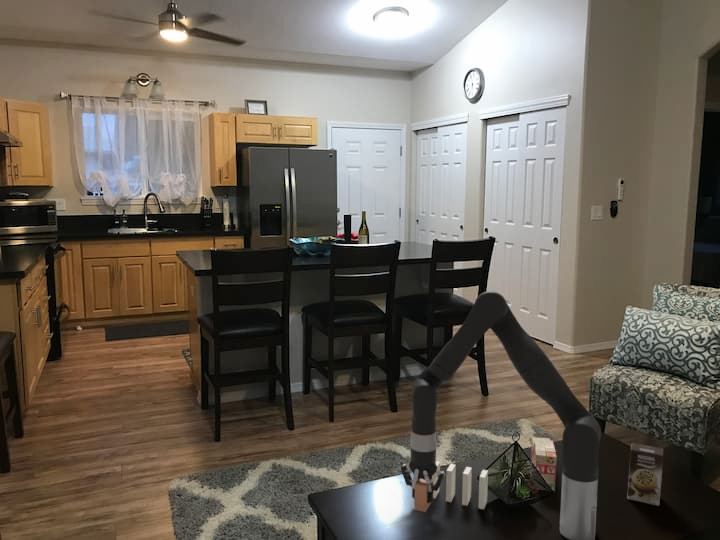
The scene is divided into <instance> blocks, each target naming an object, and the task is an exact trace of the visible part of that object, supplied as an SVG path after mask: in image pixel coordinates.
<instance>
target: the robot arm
mask: <svg viewBox="0 0 720 540" xmlns="http://www.w3.org/2000/svg"><path fill="white" fill-rule="evenodd" d="M489 330H491V331H492V332H493V333H494V335H495V336H496V337H497V339H498V340H499V341H500V343H501V345H502V346H503V348H504V350H505V353H506V354H507V356H508V358H509V360H510V362H511V363H512V365H513V367H514V368H515V369H516V372H518V374H519V376H520V377H521V379H522V380H523V381H524V382H525V384H526V386H527V387H528V388H529V389H530V390H531V391H532V392H533V393H534V394H536V395H537V396H538V397H539V398H540V399H542V401H544V402H546V403H547V404H548V405H549V406H550V407H551V408H552V409H553V410H554V412H555V413H556V415H557V417H558V418H559V420H560V421H561V423H562V425H563V427H564V429H563V432H562V442H561V465H562V470H561V471H562V472H561V473H562V474H561V494H560V513H559V532H560V534H561V535H562V536H563V537H564V538H565V539H568V540H596V538H595V537H596V523H597V506H598V503H597V502H598V486H599V485H598V483H599V472H600V471H599V452H600V451H599V450H600V441H601V438H602V428H601V425H600V424H599V422H598V420H596V418H595V417H594V416H593V414H591V413H590V412H589V410H588V409H587V408H586V407H585V406H584V404H582V402H580V400H579V399H578V398H577V396H576V395H575V394H574V393H573V391H572V390H571V388H570V387H569V385H568V384H567V382H566V381H565V379H564V378H563V376H562V375H561V374H560V372H559V371H558V370H557V368H556V366H555V365H554V364H553V362H552V361H551V360H550V358H549V357H548V356H547V355H546V353H545V352H544V351H543V349H542V348H541V347H540V345H539V344H538V343H537V342H536V341H535V340H534V339H533V338H532V337H531V335H530V334H528V333H527V332H526V330H525V329H524V328H523V327H522V325H521V324H520V322H518V320H517V318H516V316H515V315H514V313H513V311H512V310H511V308H510V307H509V305H508V302H507V299H506V298H505V297H504V295H502V294H501V293H499V292H497V291H494V290H491V291H490V290H489V291H488V290H487V291H483V292H482V293H480V294H478V296H477V297H476V299H475V300H474V304H473V306H472V308H471V309H470V311H469V313H468V315H467V316H466V319H465V320H464V322H463V323H462V324H461V326H460V327H459V328H458V330H457V331H456V333H455V334H454V335H453V336H452V337H451V339H449V341H448V342H447V343H446V344H444V346H443V348H441V349H440V351H439V353H438V354H437V355H436V356H435V357H434V358H433V360H432V362H431V363H430V364H429V366H428V367H426V368H425V369H424V370H423V371H421V373H420V374H419V375H418V376H417V377H416V379H415V380H414V382H412V386H411V393H412V410H413V411H412V415H411V416H412V417H411V433H410V441H409V442H410V460H409V463H406V462H405V463H403V464H402V465H401V467H400V471H401V473H402V476H403V478H404V482H405V485H406V486H409V487H411V491H412V492H411V494H412V495H411V497H412V499H413V500H414V501H415V483H417V481H418V480H419V479H424V480H425V482H426V485H427V489H428V491H427V503H430V502H432V501H433V499H434V498H433V491H437V490H438V488H439V487H440V488H441V484H442V483H443V480H444V478H445V477H446V473H447V471H446V470H441V469H440V470H439V469H437V466H436V461H437V434H436V426H437V425H436V423H437V421H436V412H437V403H438V393H437V391H438V389H439V388H440V387H441V386H442V385H443V383H444V382H448V381H449V380H450V379H452V377H453V376H454V375H455V374H456V372H457V371H458V370H459V369H460V367H461V366H462V365H463V363H464V362H465V360H466V359H467V357H469V355H470V354H471V351H472V350H473V348H474V347H475V345H477V343H478V342H479V340H480V339H481V338H482V337H483V336H484V335H485V334H486V332H488V331H489ZM410 471H411V472H412V474H413V477H412V476H411V472H410ZM435 473H436V474H437V478H438V480H437V482H436V484H435V485H433V477H432V476H433V475H434V474H435Z"/></svg>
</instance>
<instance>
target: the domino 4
mask: <svg viewBox="0 0 720 540" xmlns="http://www.w3.org/2000/svg"><path fill="white" fill-rule="evenodd" d="M472 469H473V468H472V467H470V466H466V467H465V469H464V470H463V472H462V487H461V489H462V491H461V492H462V493H461V497H462V498H461V505H462V506H465V505H466V506H465V507H468V505H469V503H470V501H471V499H472V471H473V470H472ZM470 498H471V499H470Z"/></svg>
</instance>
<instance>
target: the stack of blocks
mask: <svg viewBox="0 0 720 540" xmlns="http://www.w3.org/2000/svg"><path fill="white" fill-rule="evenodd" d="M556 452H557V451H556V449H555V444H554V441H553V440H551V438H547V437H534V436H533V437H531V464H532V463H533V464H534V466H535V467H536V469H537V470H538V471H539V473H540V474H541V476H542V477H543V478H544V480H545V481H546V483H547V484H548V485H549V486H550V487H551V489H552V490H553V491H554V492H553V493H555V492H556V474H557V473H556V472H557V460H558V459H557V453H556Z"/></svg>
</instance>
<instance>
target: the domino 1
mask: <svg viewBox="0 0 720 540" xmlns="http://www.w3.org/2000/svg"><path fill="white" fill-rule="evenodd" d="M427 491H428V489H427V485H426V482H425V480H424V479H419V480H418V481H417V483H415V500H414V501H413V502H414V503H413V505H414V509H413V510H414V511H418V512H422V513H426V512H427V511H428V509H429V507H430V505H431V502H432V501H431V502H430V503H427Z"/></svg>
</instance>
